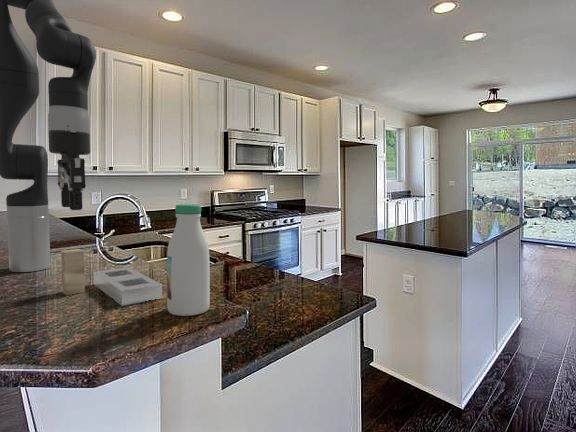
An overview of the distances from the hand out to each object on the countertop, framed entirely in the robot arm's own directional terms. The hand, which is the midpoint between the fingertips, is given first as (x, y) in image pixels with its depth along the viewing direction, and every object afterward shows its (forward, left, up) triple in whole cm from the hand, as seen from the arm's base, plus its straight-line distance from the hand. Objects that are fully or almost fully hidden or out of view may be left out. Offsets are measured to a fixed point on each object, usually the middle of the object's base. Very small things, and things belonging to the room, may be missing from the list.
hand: (71, 208), depth 80 cm
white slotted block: (+6, +9, -18) cm, 21 cm away
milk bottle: (+26, +14, -18) cm, 35 cm away
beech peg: (0, 0, -18) cm, 18 cm away
